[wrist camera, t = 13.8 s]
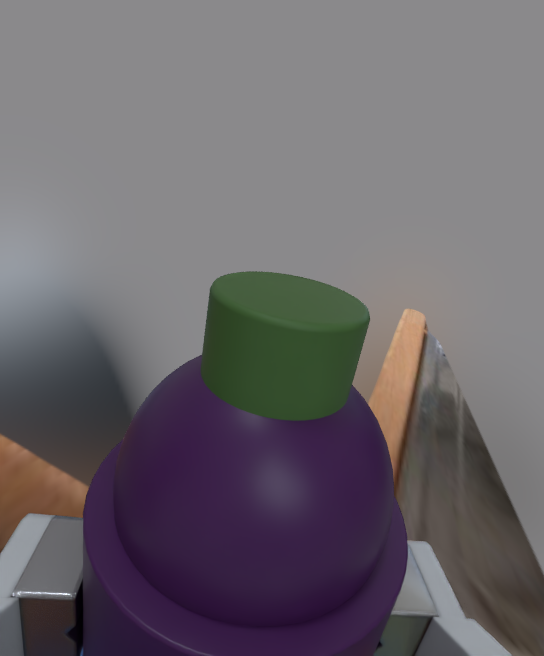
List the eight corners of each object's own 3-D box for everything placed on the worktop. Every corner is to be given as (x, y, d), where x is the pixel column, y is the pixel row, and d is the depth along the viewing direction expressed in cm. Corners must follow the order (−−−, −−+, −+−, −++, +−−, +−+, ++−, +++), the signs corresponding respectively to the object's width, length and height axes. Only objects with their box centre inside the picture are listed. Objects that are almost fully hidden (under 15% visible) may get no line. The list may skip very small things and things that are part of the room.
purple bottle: (289, 652, 13) (402, 272, 8) (315, 944, 8) (620, 429, 4) (120, 647, 12) (140, 230, 8) (41, 959, 8) (-31, 355, 3)
